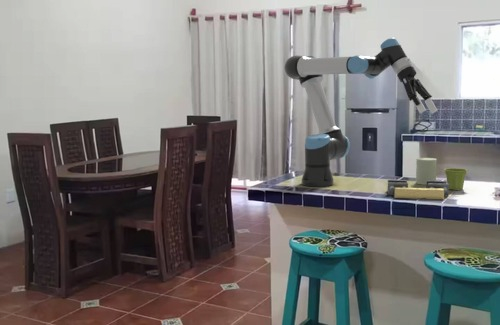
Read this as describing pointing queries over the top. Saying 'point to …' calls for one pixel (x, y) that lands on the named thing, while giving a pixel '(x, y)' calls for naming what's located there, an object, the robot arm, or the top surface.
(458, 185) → the plant pot
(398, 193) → the yellow wooden bar
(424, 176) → the can
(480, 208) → the top surface
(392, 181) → the chain end left
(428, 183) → the chain end right
